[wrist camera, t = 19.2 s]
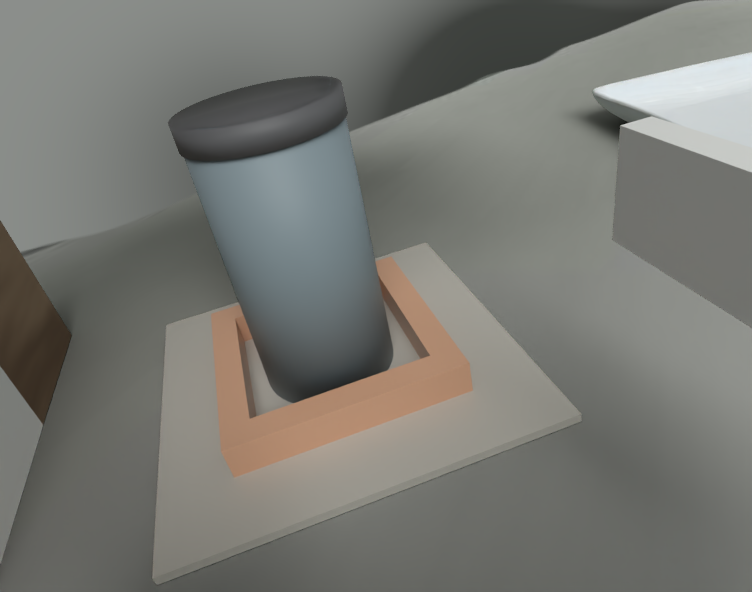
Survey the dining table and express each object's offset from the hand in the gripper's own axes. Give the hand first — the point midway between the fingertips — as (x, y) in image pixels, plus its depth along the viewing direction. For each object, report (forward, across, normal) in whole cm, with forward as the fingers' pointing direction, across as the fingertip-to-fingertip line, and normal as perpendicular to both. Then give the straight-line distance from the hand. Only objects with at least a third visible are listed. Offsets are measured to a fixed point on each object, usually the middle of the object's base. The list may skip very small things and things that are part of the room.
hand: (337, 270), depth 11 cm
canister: (+11, 0, -11) cm, 15 cm away
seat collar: (+11, 0, -11) cm, 15 cm away
